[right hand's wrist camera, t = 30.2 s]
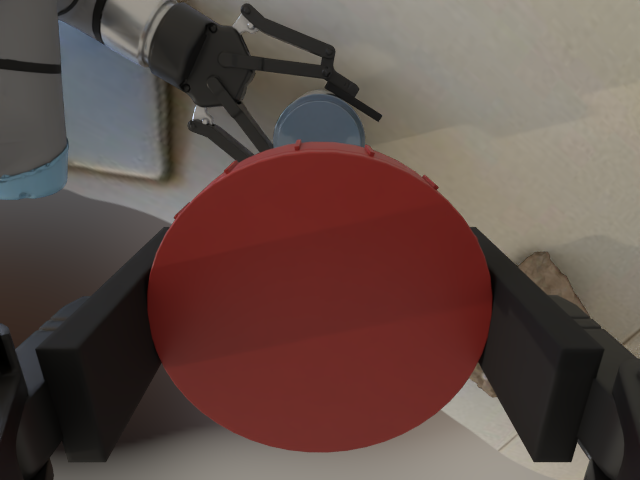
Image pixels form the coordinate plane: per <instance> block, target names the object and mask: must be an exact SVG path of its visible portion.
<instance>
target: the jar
mask: <svg viewBox="0 0 640 480" xmlns="http://www.w3.org/2000/svg"><path fill="white" fill-rule="evenodd" d="M300 139H301V143H305V142H336V143H343V144H350V145H356V146H360V147H363V148H365V133H364V128H363V125H362V123H361V120H360V118H359V116H358V115H357V113H356V112H355V111H354V109H353V108H352V107H351V106H350V105H348V104H347V103H346V102H345V101H344V100H343V99H341V98H340V97H338V96H337V95H335V94H333V93H332V92H330V91H326V90H313V91H309V92H307V93H305V94H303V95H301V96H300V97H299V98H297V99H296V100H295V101H294V102H292V103H291V104H290V105H289V106H288V107H287V108H286V109H285V110H284V111H283V112H282V114H281V115H280V117H279V119H278V121H277V123H276V126H275V130H274V135H273V145H274V148H277V147H281V146H284V145H288V144H296V141H297V140H300Z"/></svg>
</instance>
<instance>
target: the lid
mask: <svg viewBox="0 0 640 480" xmlns="http://www.w3.org/2000/svg"><path fill="white" fill-rule="evenodd" d="M438 188H439V187H438V186H437V185H436V184H435V183H433V182H432V181H431V180H430V179H429V178H428V177H427V176H426V175H424V176H423V177H421V176H420V175H419V174H418V173H416V172H415V171H413V170H412V169H410V168H409V167H407V166H405V165H404V164H402V163H401V162H399V161H397V160H395V159H393V158H391V157H388V156H386V155H384V154H382V153H379V152H377V151H374V150H372V148H371V147H370V146H369V145H365V148H363V147H360V146H356V145H350V144H343V143H336V142H305V143H301V139H300V140H297V141H296V144H288V145H284V146H281V147H277V148H273V149H269V150H266V151H263V152H261V153H258V154H256V155H254V156H251V157H249V158H246V159H245V160H243V161H241V162H239V163H238V161H237V160H236V161H234V162H233V163H232V164H231V165H230V166H228V167H227V168H226V169H225V170H224V173H222V174H221V175H220V176H219V177H217V178H216V179H215V180H214V181H212V182H211V183H210V184H209V185H208V186H207V187H206V188H205V189H204V190H203V191H201V192H200V193H199V194H198V195H197V196H196V197H195V198H194V199H193V200H192V201H191V202H189V203H188V204H187V205H186V206H185V207H184V208H183V209H181V210H180V211H179V212H178V213H177V214H176V215H175V217H174V219H175V221H174V222H173V224H172V225H171V227H170V228H169V229H168V231H167V232H166V234H165V236H164V238H163V240H162V242H161V244H160V246H159V248H158V250H157V252H156V255H155V259H154V262H153V265H152V268H151V271H150V277H149V284H148V290H147V311H148V318H149V323H150V329H151V335H152V339H153V342H154V346H155V349H156V352H157V354H158V356H159V358H160V360H161V362H162V364H163V366H164V368H165V370H166V371H167V373H168V375H169V376H170V378H171V379H172V381H173V382H174V384H175V385H176V386H177V387H178V389H179V390H180V391H181V392H182V393H183V394H184V396H185V397H186V398H187V399H188V400H189V401H190V402H191V403H192V404H193V405H195V406H196V407H197V408H198V409H199V410H200V411H201V412H202V413H204V414H205V415H206V416H208V417H209V418H211V419H212V420H213V421H215V422H216V423H218V424H219V425H221V426H223V427H225V428H226V429H228V430H230V431H232V432H233V433H236V434H238V435H240V436H243V437H245V438H247V439H250V440H252V441H255V442H258V443H261V444H265V445H268V446H272V447H276V448H281V449H286V450H293V451H302V452H338V451H348V450H353V449H358V448H363V447H368V446H371V445H375V444H378V443H381V442H385V441H387V440H390V439H392V438H395V437H397V436H399V435H402V434H404V433H406V432H408V431H409V430H411V429H413V428H415V427H417V426H419V425H420V424H422V423H423V422H425V421H426V420H427V419H429V418H430V417H432V416H433V415H435V414H436V413H437V412H438V411H439V410H441V409H442V408H443V407H444V406H445V405H446V404H447V403H448V402H450V401H451V399H452V398H453V397H454V396H455V395H456V394H457V393H458V392H459V390H460V389H461V388H462V387H463V386H464V384H465V383H466V381H467V380H468V378H469V377H470V375H471V374H472V373H473V371H474V369H475V367H476V365H477V363H478V361H479V359H480V357H481V355H482V353H483V350H484V347H485V344H486V341H487V338H488V333H489V327H490V321H491V315H492V300H493V295H492V287H491V278H490V274H489V270H488V266H487V263H486V259H485V256H484V254H483V251H482V249H481V247H480V245H479V243H478V238H477V237H476V236H475V235H474V233H473V232H472V230H471V229H470V227H469V226H468V224H467V223H466V221H465V219H464V218H463V217H462V216H461V215H460V214H459V212H458V211H457V210H456V209H455V208H454V207H453V206H452V205H451V203H450V202H449V201H448V200H447V199H446V198H445V197H443V196H442V195H441V194H440V193H439V192H438V191H437V189H438Z"/></svg>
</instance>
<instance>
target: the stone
mask: <svg viewBox="0 0 640 480" xmlns="http://www.w3.org/2000/svg"><path fill="white" fill-rule="evenodd" d="M518 268H519V269H521V270H522V271H523V272H524V273H525V274H526V275H527V276H528V277H529V278H530V279H531V280H532V281H533V282H534V283H535V284H536V285H537V286H539V287H540V288H541V289H542V290H543V291H544V292H545V293H546V294H547V295H558V296H560V297H562V298H564V299H566V300H568V301H570V302H572V303H574V304H576V305H577V306H578V307H579V308H580V309H582V310H583V311H584V312H585V313H586V314H587V315H588V316H589V314H588V312H587V311H586V309H585V307H584V306H583V305H582V303H581V302H580V300H579V298H578V296H577V295H576V294H575V293H574V291H573V288H572V286H571V284H570V283H569V280H568V278H567V276H566V275H564V274H562V273H561V272H560V271H559V269H558V268H557V267H556V266H555V265H554V263H553V262H552V261H551V260H550V255H549V253H548V252H535V253H534V254H533V255H531V256H529V257H527V258H526V259H525V260H524V261H523V262H522V263H521V264H520V265H519V266H518ZM590 319H591V318H590ZM469 378H470V379H471V380H472V381H474V382H476V383H477V386H478V387H479V388H481V389H483V390H484V391H485V392H486V393H487V394H488V395H489V396H491V397H497V395H496V394H495V392H494V390H493V388H492V386H491V385H490V383H489V381H488V379H487V378H486V376H485V374H484V372H483V370H482V369H481V367H480V365H479V363H477V365H476V367H475V369H474V371H473V373H472V374H471V375H470V377H469Z"/></svg>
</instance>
